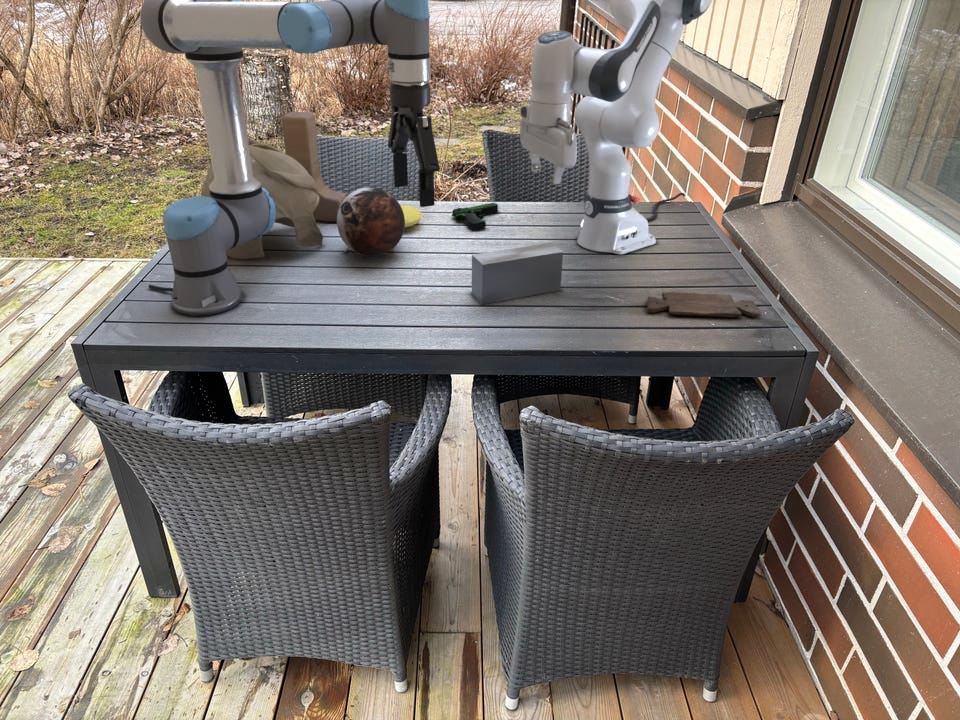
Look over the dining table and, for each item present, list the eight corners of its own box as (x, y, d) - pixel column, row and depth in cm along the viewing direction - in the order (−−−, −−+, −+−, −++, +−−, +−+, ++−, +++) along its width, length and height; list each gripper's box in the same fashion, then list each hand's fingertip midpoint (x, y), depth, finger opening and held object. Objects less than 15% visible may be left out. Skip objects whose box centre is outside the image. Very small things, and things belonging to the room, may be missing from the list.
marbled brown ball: (330, 217, 201) (372, 164, 193) (380, 258, 206) (423, 208, 197) (307, 245, 182) (352, 187, 173) (363, 289, 186) (409, 234, 178)
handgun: (467, 223, 206) (446, 206, 217) (467, 232, 208) (445, 215, 219) (516, 216, 213) (492, 199, 224) (515, 225, 214) (492, 209, 226)
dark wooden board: (642, 297, 172) (648, 316, 163) (643, 291, 171) (649, 310, 162) (751, 300, 171) (762, 319, 162) (752, 293, 170) (764, 313, 161)
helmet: (337, 253, 194) (330, 140, 179) (228, 274, 179) (210, 153, 164) (298, 224, 213) (288, 120, 198) (196, 241, 198) (178, 130, 183)
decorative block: (341, 222, 212) (332, 118, 197) (293, 219, 214) (280, 116, 199) (348, 214, 219) (340, 113, 204) (301, 211, 221) (289, 110, 205)
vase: (376, 214, 219) (375, 191, 216) (426, 217, 218) (426, 194, 214) (362, 232, 206) (360, 208, 202) (415, 235, 204) (415, 212, 201)
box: (548, 280, 179) (550, 242, 174) (560, 290, 175) (563, 251, 169) (471, 293, 172) (471, 254, 167) (481, 304, 167) (482, 264, 162)
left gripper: (367, 72, 139) (374, 180, 150) (416, 96, 120) (420, 217, 131) (404, 70, 142) (408, 176, 153) (457, 92, 123) (457, 212, 133)
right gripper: (586, 123, 147) (581, 189, 154) (541, 104, 163) (537, 164, 170) (560, 125, 145) (555, 192, 152) (516, 106, 161) (513, 167, 168)
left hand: (413, 195), depth 142 cm, fingers open, 13 cm apart
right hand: (545, 177), depth 161 cm, fingers open, 8 cm apart
